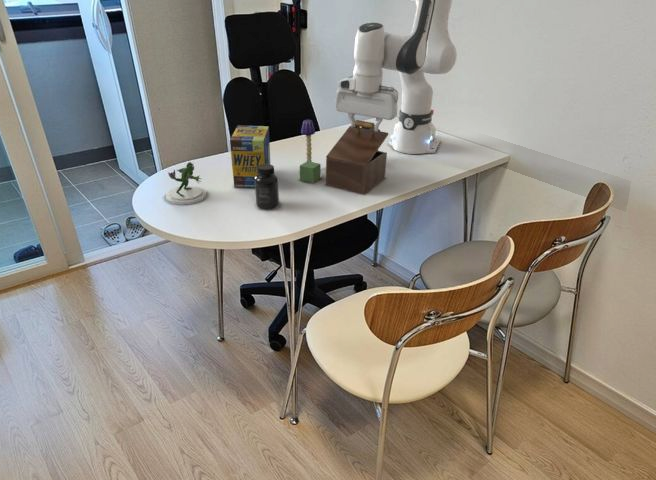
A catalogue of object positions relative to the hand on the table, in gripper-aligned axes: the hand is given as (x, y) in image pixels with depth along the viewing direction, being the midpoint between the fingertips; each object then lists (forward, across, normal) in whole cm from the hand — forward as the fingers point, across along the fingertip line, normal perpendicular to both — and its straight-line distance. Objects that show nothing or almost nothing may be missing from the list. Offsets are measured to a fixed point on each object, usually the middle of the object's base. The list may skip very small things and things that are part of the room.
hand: (364, 129), depth 157 cm
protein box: (+17, +30, +20) cm, 40 cm away
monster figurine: (+17, +39, +42) cm, 60 cm away
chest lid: (+4, 0, +4) cm, 6 cm away
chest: (+16, 0, +4) cm, 17 cm away
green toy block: (+16, +14, +10) cm, 24 cm away
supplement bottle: (+17, +14, +34) cm, 41 cm away
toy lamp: (+16, +19, +4) cm, 25 cm away
